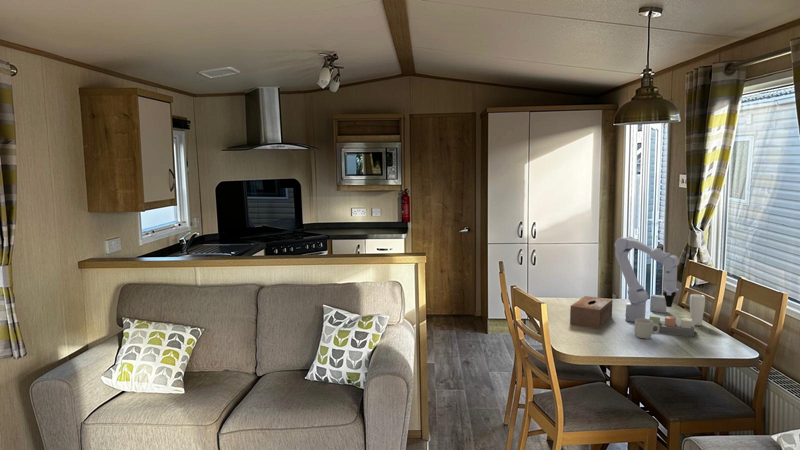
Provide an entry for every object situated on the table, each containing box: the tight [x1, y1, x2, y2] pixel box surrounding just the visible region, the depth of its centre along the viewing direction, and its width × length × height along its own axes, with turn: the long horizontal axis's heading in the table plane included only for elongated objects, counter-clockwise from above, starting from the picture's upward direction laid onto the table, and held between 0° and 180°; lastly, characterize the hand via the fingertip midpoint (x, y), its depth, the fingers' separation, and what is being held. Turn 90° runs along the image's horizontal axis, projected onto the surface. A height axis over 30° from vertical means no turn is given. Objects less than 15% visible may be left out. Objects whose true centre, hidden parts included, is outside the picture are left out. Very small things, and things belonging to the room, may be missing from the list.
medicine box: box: [649, 294, 668, 314], centre depth 314 cm, size 8×4×9 cm, turn 58°
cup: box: [634, 318, 660, 339], centre depth 267 cm, size 11×8×8 cm
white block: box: [680, 317, 692, 329], centre depth 274 cm, size 4×4×4 cm
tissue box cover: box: [569, 295, 614, 330], centre depth 295 cm, size 26×14×10 cm, turn 146°
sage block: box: [648, 313, 661, 325], centre depth 281 cm, size 4×4×4 cm
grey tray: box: [653, 320, 696, 338], centre depth 278 cm, size 21×11×3 cm, turn 61°
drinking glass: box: [689, 293, 706, 326], centre depth 288 cm, size 7×7×15 cm
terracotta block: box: [664, 315, 677, 327], centre depth 277 cm, size 4×4×4 cm
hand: (669, 306), depth 283 cm, fingers closed
